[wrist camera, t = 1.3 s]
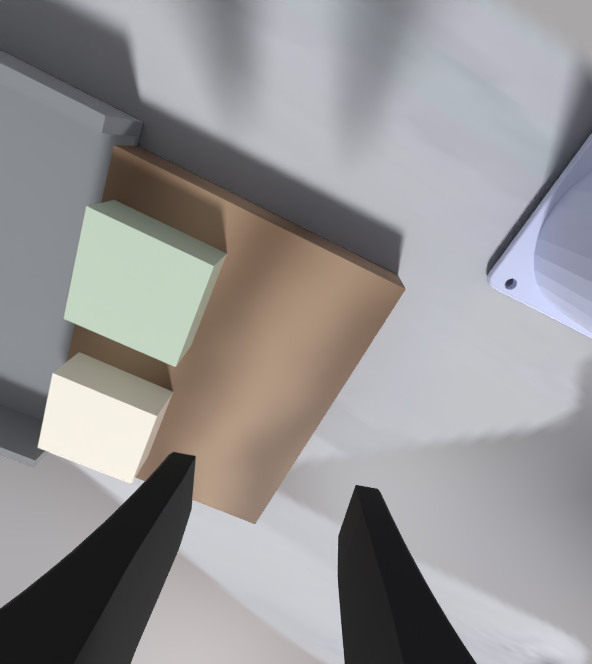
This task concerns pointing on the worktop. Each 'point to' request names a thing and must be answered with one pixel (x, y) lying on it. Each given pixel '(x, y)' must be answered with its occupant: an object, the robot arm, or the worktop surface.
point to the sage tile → (141, 281)
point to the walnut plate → (247, 334)
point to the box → (43, 231)
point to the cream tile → (102, 417)
